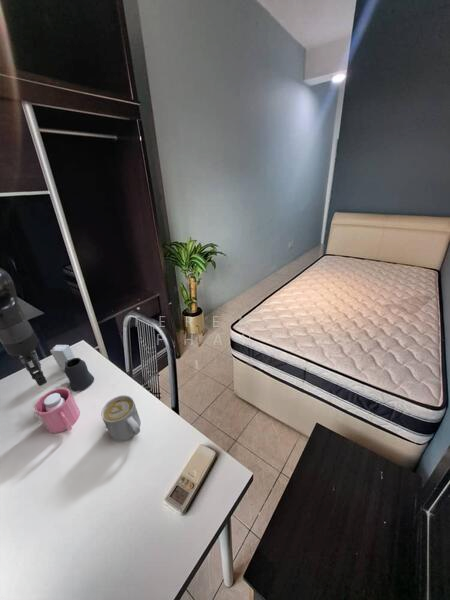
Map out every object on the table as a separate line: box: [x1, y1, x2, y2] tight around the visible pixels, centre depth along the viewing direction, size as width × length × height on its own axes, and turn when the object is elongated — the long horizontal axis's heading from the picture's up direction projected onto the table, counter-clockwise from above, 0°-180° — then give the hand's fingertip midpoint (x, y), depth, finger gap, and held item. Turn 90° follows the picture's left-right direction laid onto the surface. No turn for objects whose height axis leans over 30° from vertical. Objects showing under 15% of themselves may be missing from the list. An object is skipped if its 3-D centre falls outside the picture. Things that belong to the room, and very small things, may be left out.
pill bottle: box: [44, 393, 65, 412], centre depth 85 cm, size 6×6×10 cm
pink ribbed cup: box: [34, 387, 81, 434], centre depth 84 cm, size 14×10×10 cm
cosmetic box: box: [50, 344, 76, 372], centre depth 108 cm, size 6×4×12 cm
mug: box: [63, 357, 95, 393], centre depth 101 cm, size 12×9×11 cm
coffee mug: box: [101, 394, 142, 443], centre depth 80 cm, size 13×10×10 cm
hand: (40, 376), depth 78 cm, fingers open, 8 cm apart
